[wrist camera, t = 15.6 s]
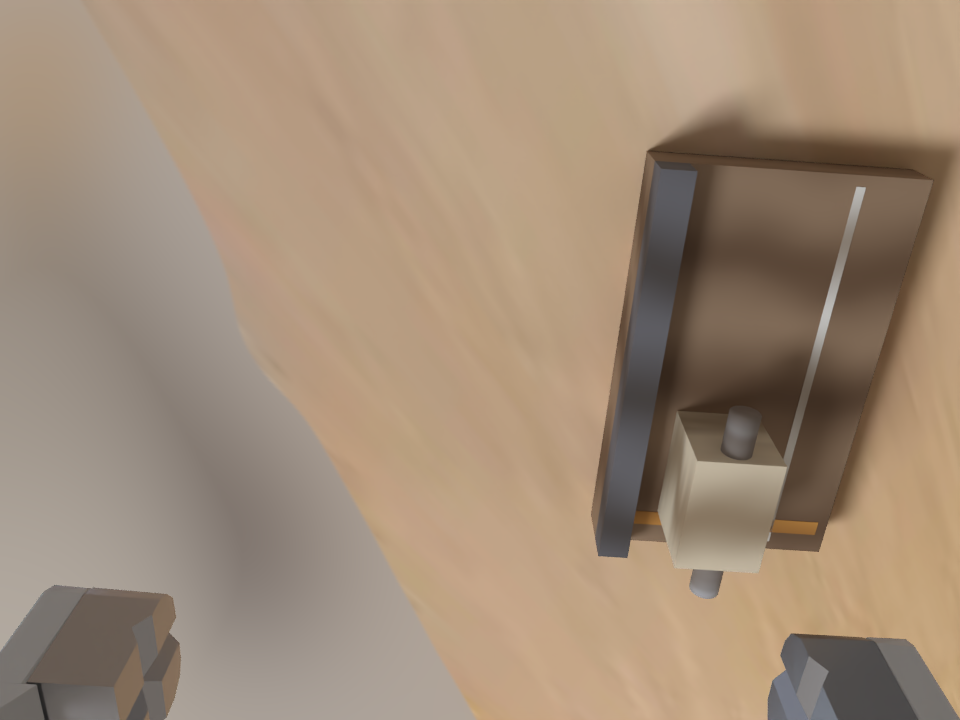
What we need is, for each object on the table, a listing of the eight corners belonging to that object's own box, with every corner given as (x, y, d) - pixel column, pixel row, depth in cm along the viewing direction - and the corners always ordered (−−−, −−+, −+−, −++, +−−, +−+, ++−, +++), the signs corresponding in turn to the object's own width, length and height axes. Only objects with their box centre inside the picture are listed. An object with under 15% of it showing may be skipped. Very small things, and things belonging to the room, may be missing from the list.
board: (647, 150, 37) (661, 168, 34) (912, 169, 37) (951, 189, 34) (591, 514, 46) (598, 555, 42) (805, 528, 46) (829, 570, 43)
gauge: (683, 374, 39) (705, 421, 35) (766, 379, 39) (798, 427, 35) (651, 541, 44) (667, 600, 40) (725, 546, 44) (749, 605, 40)
